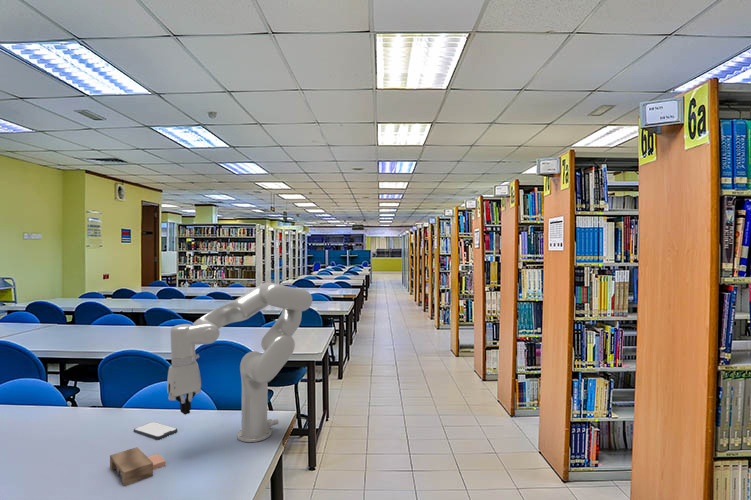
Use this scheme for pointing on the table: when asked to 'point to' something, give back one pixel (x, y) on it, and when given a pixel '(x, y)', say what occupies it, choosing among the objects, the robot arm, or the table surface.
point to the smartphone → (155, 430)
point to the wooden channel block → (131, 465)
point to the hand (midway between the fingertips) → (185, 413)
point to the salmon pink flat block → (157, 461)
